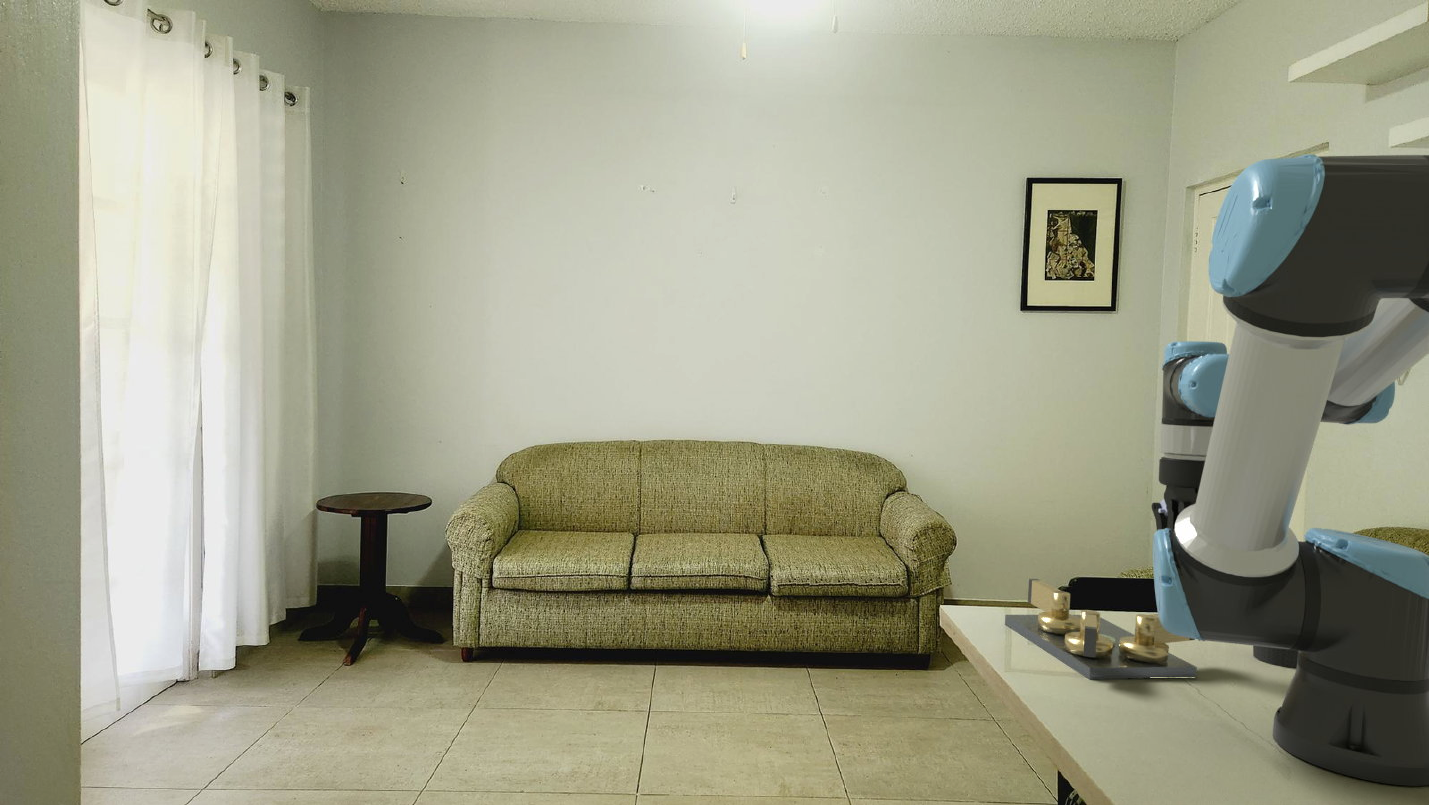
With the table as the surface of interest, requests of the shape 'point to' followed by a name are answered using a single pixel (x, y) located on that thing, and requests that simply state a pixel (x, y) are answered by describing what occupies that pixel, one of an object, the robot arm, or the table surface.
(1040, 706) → the table surface
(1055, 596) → the brass knob
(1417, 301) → the robot arm
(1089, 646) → the brass knob
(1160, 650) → the brass knob
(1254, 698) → the table surface
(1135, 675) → the levelling plate
